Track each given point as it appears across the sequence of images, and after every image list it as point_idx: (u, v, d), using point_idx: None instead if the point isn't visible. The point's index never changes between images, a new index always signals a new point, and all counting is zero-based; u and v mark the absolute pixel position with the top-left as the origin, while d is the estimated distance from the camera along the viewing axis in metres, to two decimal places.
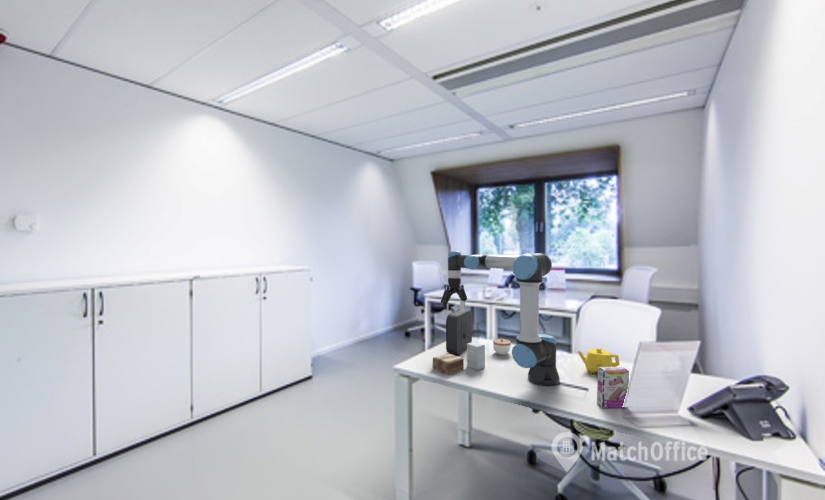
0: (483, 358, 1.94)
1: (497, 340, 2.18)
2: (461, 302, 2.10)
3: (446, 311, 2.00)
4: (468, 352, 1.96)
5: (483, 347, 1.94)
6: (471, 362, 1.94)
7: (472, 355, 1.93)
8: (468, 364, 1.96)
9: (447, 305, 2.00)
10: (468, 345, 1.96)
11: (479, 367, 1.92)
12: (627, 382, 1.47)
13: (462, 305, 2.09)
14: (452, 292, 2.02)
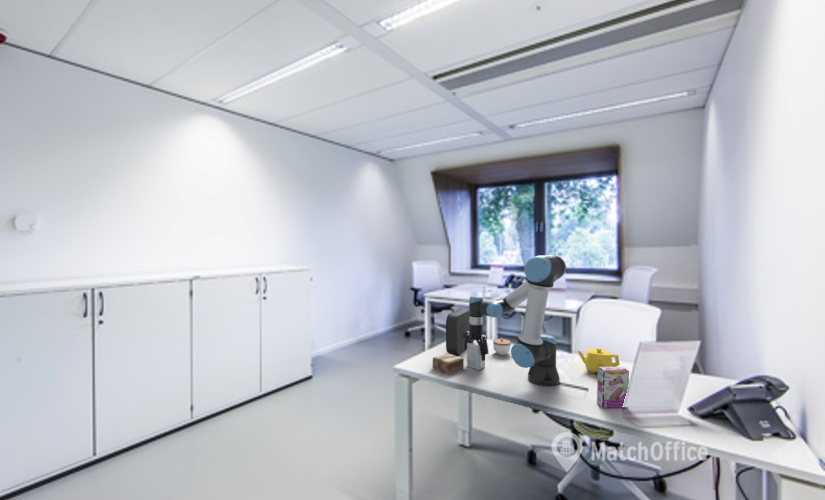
0: None
1: (497, 340, 2.18)
2: None
3: None
4: (468, 352, 1.96)
5: None
6: (471, 362, 1.94)
7: (472, 355, 1.93)
8: (468, 364, 1.96)
9: None
10: (468, 345, 1.96)
11: (479, 367, 1.92)
12: (627, 382, 1.47)
13: None
14: (470, 338, 1.96)
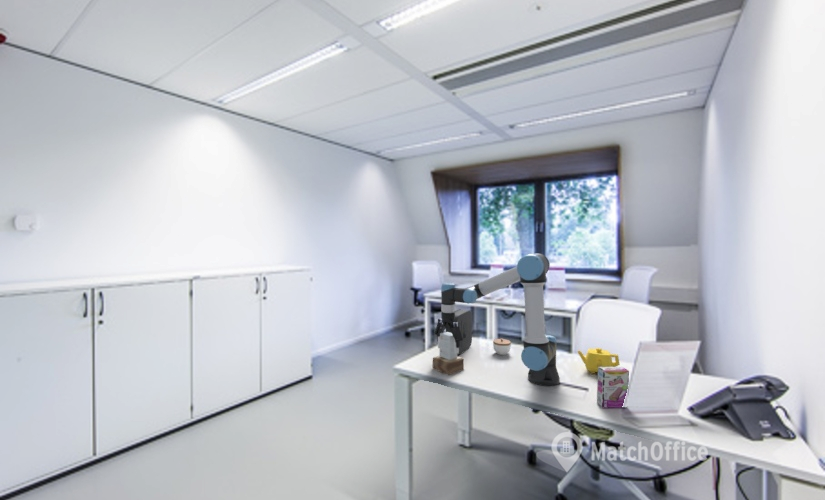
0: None
1: (497, 340, 2.18)
2: None
3: None
4: (441, 342, 1.93)
5: None
6: (443, 351, 1.91)
7: (444, 345, 1.91)
8: (440, 354, 1.93)
9: (438, 338, 1.97)
10: (441, 335, 1.93)
11: (451, 357, 1.89)
12: (627, 382, 1.47)
13: None
14: (441, 326, 1.94)
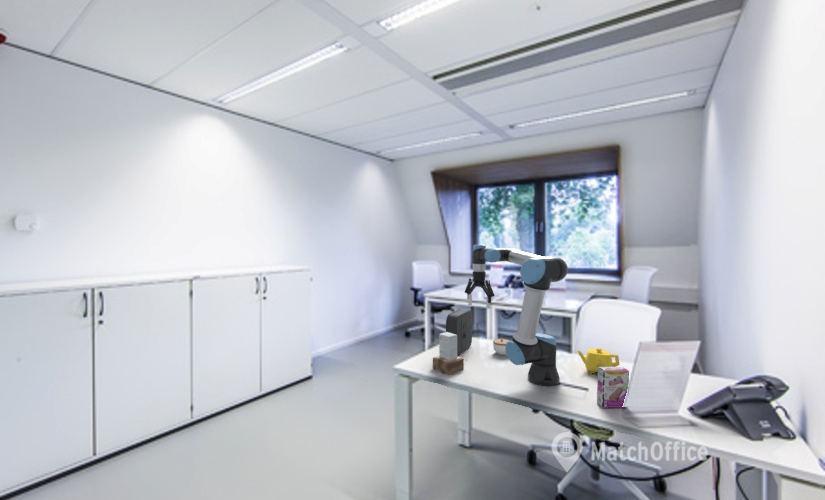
0: (456, 348, 1.91)
1: (497, 340, 2.18)
2: None
3: None
4: (440, 343, 1.92)
5: (455, 337, 1.90)
6: (443, 352, 1.91)
7: (444, 345, 1.90)
8: (440, 355, 1.93)
9: (468, 295, 2.10)
10: (440, 335, 1.93)
11: (451, 357, 1.89)
12: (627, 382, 1.47)
13: None
14: (472, 284, 2.07)
